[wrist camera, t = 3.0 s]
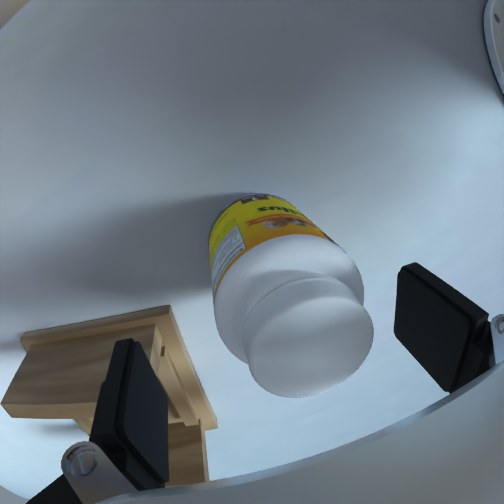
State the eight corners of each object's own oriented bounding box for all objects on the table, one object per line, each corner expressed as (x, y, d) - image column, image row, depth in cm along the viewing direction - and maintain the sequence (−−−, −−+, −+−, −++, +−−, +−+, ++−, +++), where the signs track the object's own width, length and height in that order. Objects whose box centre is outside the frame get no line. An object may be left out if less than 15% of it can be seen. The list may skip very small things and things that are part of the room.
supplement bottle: (320, 221, 18) (425, 315, 9) (268, 295, 20) (322, 425, 10) (241, 171, 16) (299, 230, 7) (189, 254, 18) (186, 388, 8)
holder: (24, 332, 18) (-14, 397, 11) (169, 304, 19) (161, 387, 12) (94, 432, 23) (83, 493, 16) (216, 419, 24) (225, 489, 17)
